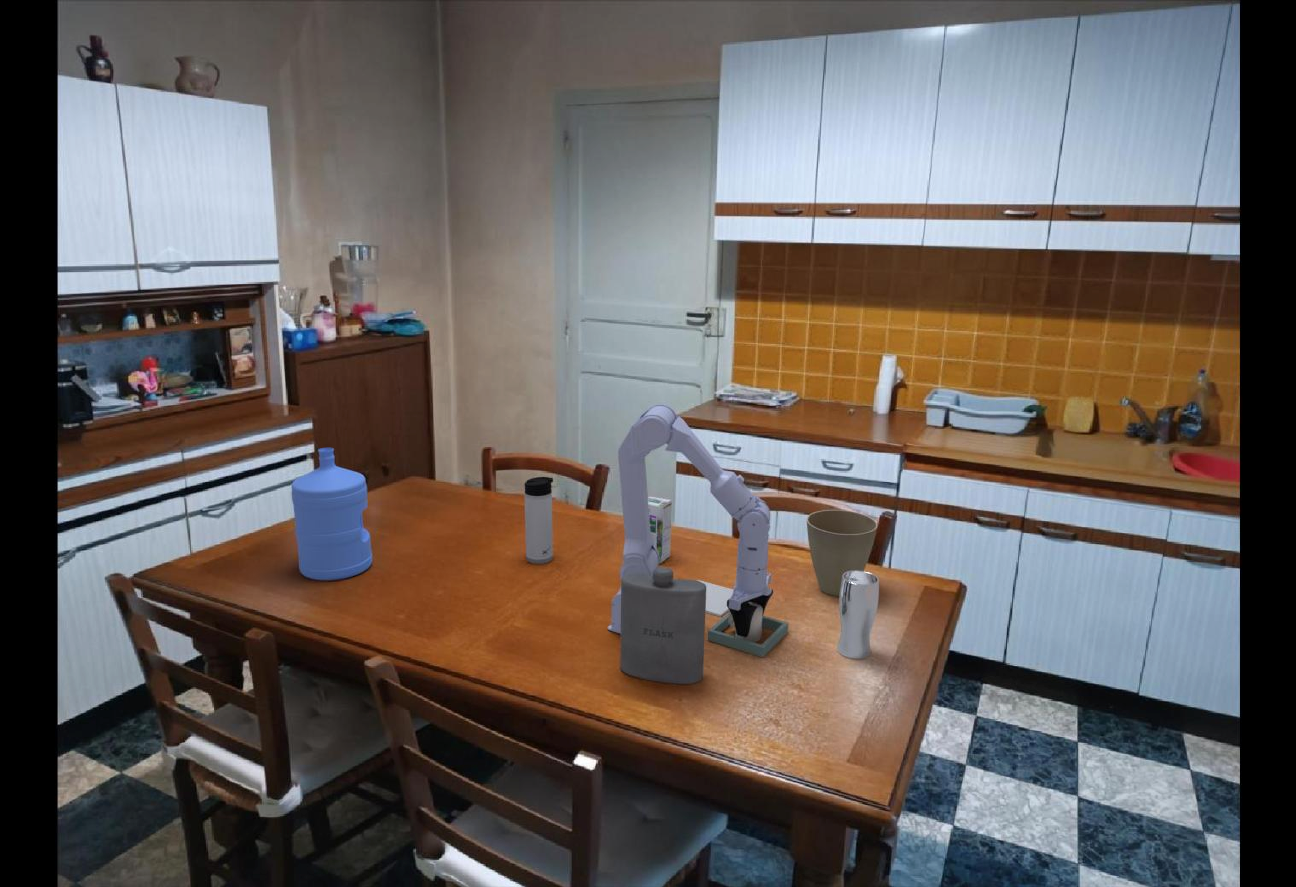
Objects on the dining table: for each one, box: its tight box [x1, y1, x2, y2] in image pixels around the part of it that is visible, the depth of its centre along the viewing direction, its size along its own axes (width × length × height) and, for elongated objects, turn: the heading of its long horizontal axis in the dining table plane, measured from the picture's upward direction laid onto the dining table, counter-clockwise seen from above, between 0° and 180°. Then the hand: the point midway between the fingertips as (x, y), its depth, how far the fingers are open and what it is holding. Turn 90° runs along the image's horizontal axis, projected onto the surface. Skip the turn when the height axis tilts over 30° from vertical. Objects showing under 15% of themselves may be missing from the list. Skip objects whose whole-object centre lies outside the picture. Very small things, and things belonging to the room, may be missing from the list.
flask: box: [619, 566, 706, 685], centre depth 139 cm, size 15×6×20 cm, turn 76°
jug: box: [728, 602, 764, 643], centre depth 154 cm, size 7×5×6 cm
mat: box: [697, 579, 734, 618], centre depth 170 cm, size 12×12×1 cm
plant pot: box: [806, 509, 879, 597], centre depth 174 cm, size 15×15×16 cm
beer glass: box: [837, 570, 880, 660], centre depth 148 cm, size 7×7×15 cm
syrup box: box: [648, 496, 673, 565], centre depth 189 cm, size 6×6×14 cm
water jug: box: [291, 447, 373, 581], centre depth 179 cm, size 16×16×28 cm
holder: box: [707, 612, 789, 658], centre depth 155 cm, size 12×12×2 cm
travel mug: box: [524, 476, 554, 565], centre depth 186 cm, size 6×7×20 cm
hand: (748, 629), depth 154 cm, fingers closed on jug, 5 cm apart
